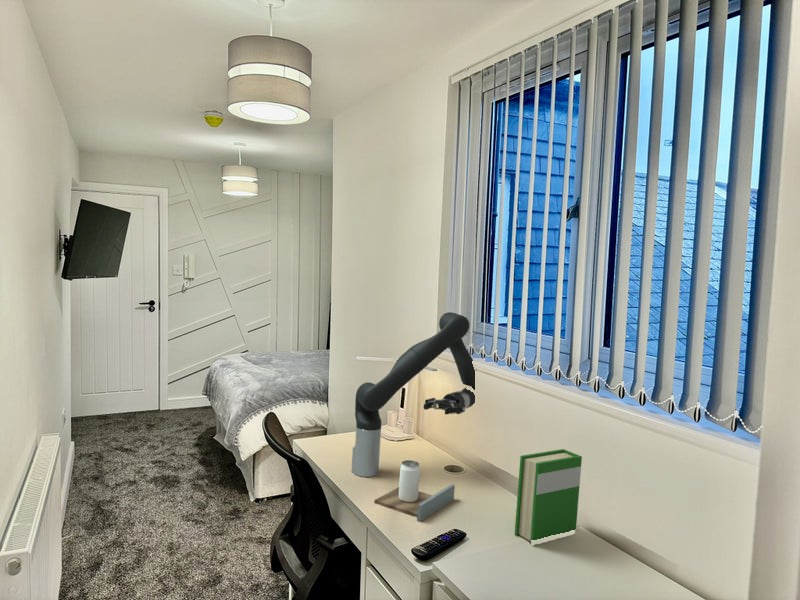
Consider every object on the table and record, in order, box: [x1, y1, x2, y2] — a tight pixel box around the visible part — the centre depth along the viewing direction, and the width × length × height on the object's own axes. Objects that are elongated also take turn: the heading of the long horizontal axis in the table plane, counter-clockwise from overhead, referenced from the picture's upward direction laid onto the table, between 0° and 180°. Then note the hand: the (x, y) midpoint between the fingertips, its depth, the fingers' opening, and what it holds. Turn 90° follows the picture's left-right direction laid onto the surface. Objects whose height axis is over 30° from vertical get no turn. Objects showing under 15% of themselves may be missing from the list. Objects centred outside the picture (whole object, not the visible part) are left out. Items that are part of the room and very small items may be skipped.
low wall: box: [416, 483, 456, 522], centre depth 187 cm, size 1×22×5 cm, turn 147°
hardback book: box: [514, 448, 583, 541], centre depth 173 cm, size 18×7×24 cm, turn 121°
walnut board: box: [374, 486, 434, 518], centre depth 192 cm, size 16×16×1 cm
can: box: [398, 459, 421, 502], centre depth 192 cm, size 6×6×12 cm
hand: (435, 409), depth 206 cm, fingers open, 8 cm apart
